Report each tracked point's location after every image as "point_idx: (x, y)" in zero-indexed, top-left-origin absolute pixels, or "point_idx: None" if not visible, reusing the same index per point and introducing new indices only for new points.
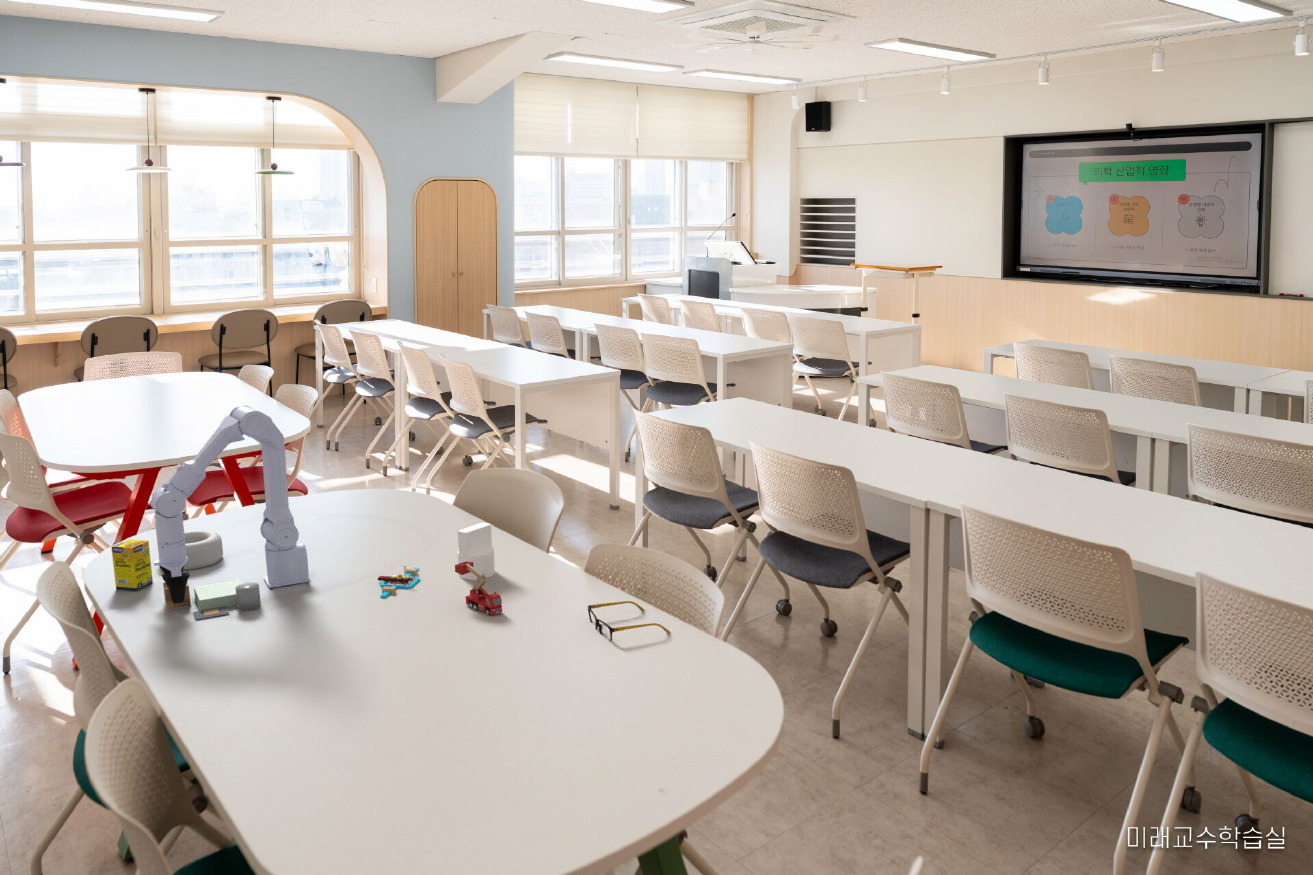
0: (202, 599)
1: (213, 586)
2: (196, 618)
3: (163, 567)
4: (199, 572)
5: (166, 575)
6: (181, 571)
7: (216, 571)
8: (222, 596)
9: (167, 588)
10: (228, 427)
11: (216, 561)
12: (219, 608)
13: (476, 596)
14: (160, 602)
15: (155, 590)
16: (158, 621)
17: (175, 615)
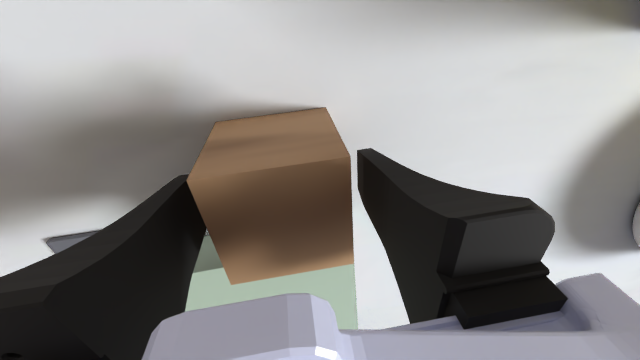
0: None
1: (322, 297)
2: (55, 244)
3: (436, 236)
4: (598, 203)
5: (7, 342)
6: (398, 278)
7: (559, 245)
8: None
9: (210, 193)
10: None
11: (637, 244)
12: None
13: None
14: (342, 84)
15: (537, 50)
16: (29, 89)
17: (126, 162)
